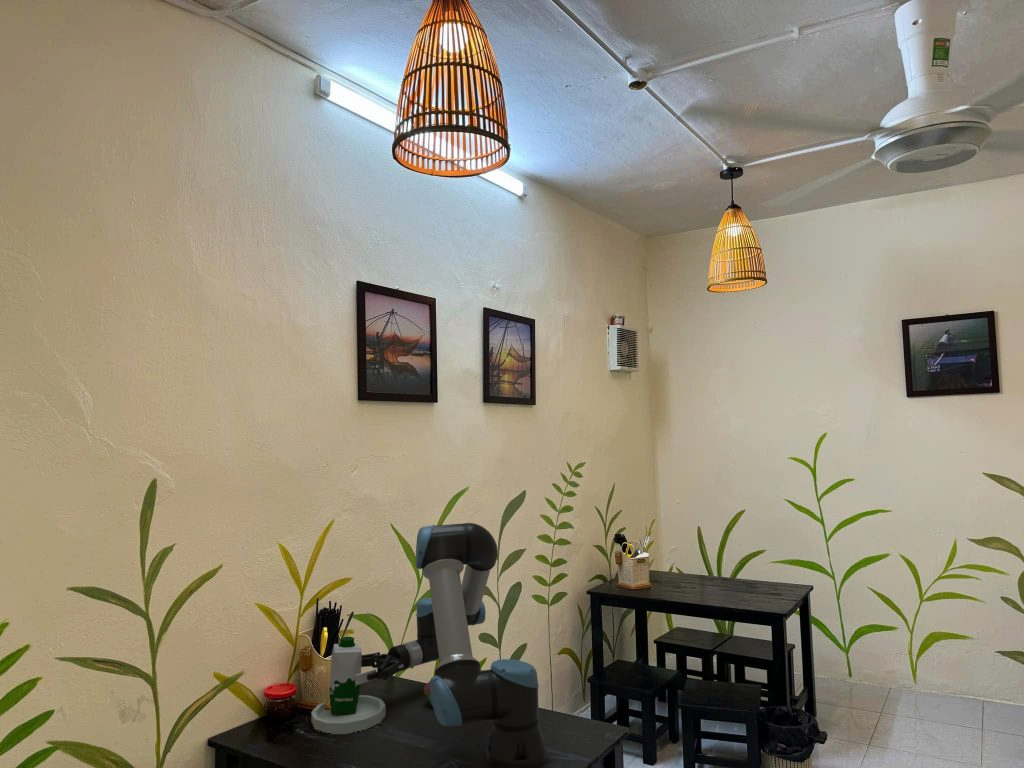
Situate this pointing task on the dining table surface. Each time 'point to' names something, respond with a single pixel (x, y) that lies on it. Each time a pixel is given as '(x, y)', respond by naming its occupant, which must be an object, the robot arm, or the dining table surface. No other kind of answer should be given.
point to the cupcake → (428, 692)
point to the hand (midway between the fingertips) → (343, 674)
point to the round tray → (350, 717)
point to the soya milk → (345, 676)
